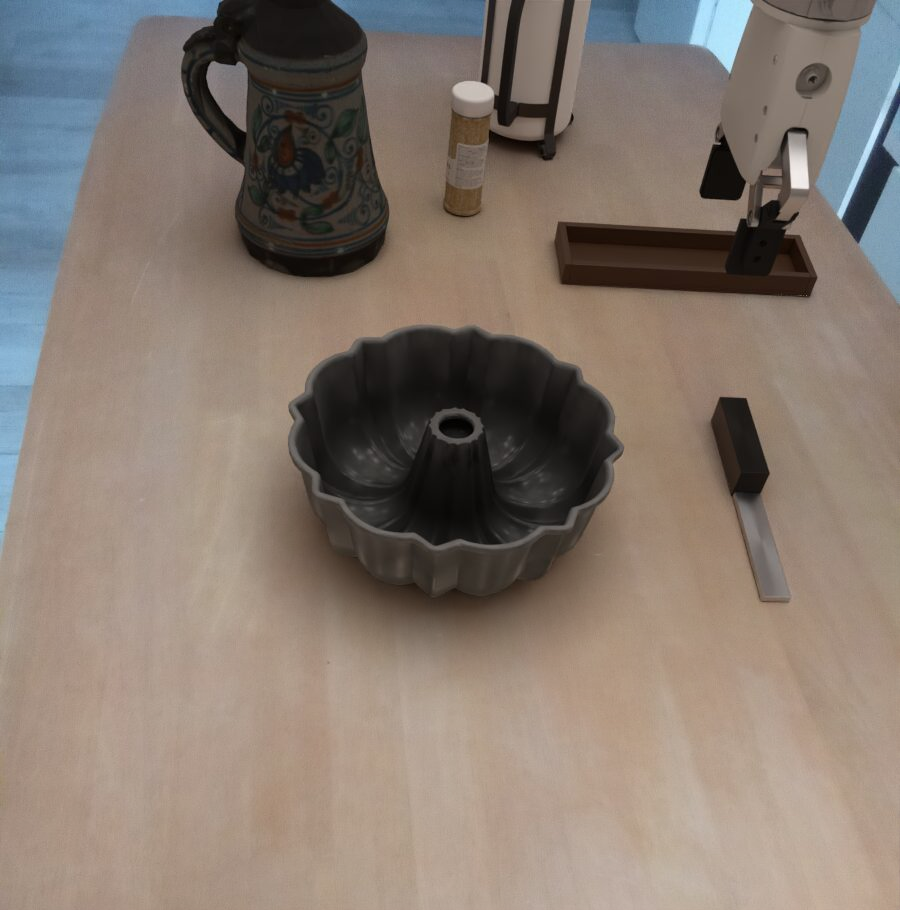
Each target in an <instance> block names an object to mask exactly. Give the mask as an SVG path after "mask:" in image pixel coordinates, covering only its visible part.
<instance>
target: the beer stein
mask: <svg viewBox="0 0 900 910" xmlns="http://www.w3.org/2000/svg"><path fill="white" fill-rule="evenodd" d="M367 38H368V37H367V34H366V33H365V31H364V30H363V28H362V26H361V25H360V23H358V22H357V20H356V19H355V18H354V17H352V16H351V15H350V14H349V13H347V12H346V11H345V10H343V9H342V8H341V7H339V5H337V4H335V2H333V1H332V0H221V1H220V2H218V5H217V9H216V17H215V18H214V20H213V22H212V25H208V26H203V27H202V28H200V29H198V30H196V31H194V33H192V34H191V35H190V37H189V38H188V39H187V40H185V42H184V44H183V46H182V51H183V52H184V54H183V56H182V60H181V65H180V79H181V84H182V90H183V93H184V96H185V99H186V102H187V103H188V105H189V108H190V110H191V112H192V113H193V115H194V118H196V120H197V121H198V123H199V124H200V125H201V127H202V128H203V129H204V130H205V132H206V133H207V134H208V136H210V137H211V139H212V140H213V141H214V142H215V143H216V144H217V145H218V146H219V147H220V148H221V149H222V150H223V151H224V152H225V153H226V154H227V155H229V157H230V158H232V159H234V160H235V161H236V162H238V163H239V164H241V165H242V167H243V168H244V169H243V177H242V180H241V184H240V189H239V191H238V193H237V196H236V199H235V204H234V218H235V221H236V225H237V228H238V230H239V233H240V235H241V240H242V242H243V244H244V246H245V248H246V250H247V252H248V254H249V255H250V256H251V257H252V258H254V259H255V260H256V261H258V262H259V263H261V264H262V265H264V266H265V267H266V268H267V269H271V270H273V271H277V272H280V273H282V274H286V275H291V276H297V277H303V278H304V277H306V278H307V277H309V278H311V277H314V278H315V277H335V276H339V275H344V274H348V273H352V272H353V273H354V272H355V271H356V270H358V269H361V268H362V267H363V266H365V265H367V264H369V263H371V262H373V261H374V260H375V258H376V257H377V256H378V255H379V252H380V251H381V250H382V248H383V246H384V245H385V241H386V233H387V228H388V224H389V220H390V205H389V200H388V198H387V195H386V192H385V191H384V189H383V186H382V184H381V181H380V177H379V173H378V169H377V165H376V159H375V155H374V151H373V143H372V137H371V132H370V124H369V117H368V108H367V107H368V106H367V101H366V95H365V88H364V81H363V68H364V66H365V63H366V60H367V54H368V49H369V48H368V46H369V45H368V39H367ZM213 62H215V63H217V64H219V65H227V66H233V67H236V66H237V64H238V63H241V64H243V65H244V66H245V68H246V71H247V91H246V107H245V108H246V109H245V110H246V111H245V127H246V128H245V130H246V131H244V130H242V129H241V128H239V127H238V126H237V125H236V124H235V122H234V121H232V119H231V118H229V116H227V115H226V113H225V112H224V111H223V110H222V108H221V107H220V105H219V103H218V102H217V101H216V99H215V97H214V96H213V94H212V92H211V90H210V88H209V82H208V79H207V76H208V71H209V67H210V65H211V64H212V63H213Z"/></svg>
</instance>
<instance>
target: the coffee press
mask: <svg viewBox="0 0 900 910" xmlns="http://www.w3.org/2000/svg"><path fill="white" fill-rule="evenodd" d="M591 4H592V0H485V6H484V14H483V15H484V16H483V28H482V37H481V46H480V47H481V48H480V58H479V67H478V79H477V82H481V83H484V84H486V85H488V86H489V87H491V88H492V89H493V91H494V106H493V111H492V114H491V116H490V126H489V133H490V132H494V133H495V134H497V135H500V136H502V137H505V138H509V139H512V140H517V141H528V142H529V141H530V142H533V141H534V142H535V143H536V144H537V146H538V150H539V154H540V157H541V158H542V159H543V160H546V159H551V158H556V156H557V147H556V142H555V137H556V136H558V135H559V134H561V133H562V132H563V131H564V130H565V129H566V128H567V127H568V126H570V125H571V124H572V123H573V122H574V120H575V119H574V118H575V116H574V114H573V109H574V108H573V107H574V103H575V96H576V91H577V85H578V79H579V74H580V68H581V62H582V56H583V51H584V45H585V39H586V33H587V28H588V21H589V17H590V9H591Z"/></svg>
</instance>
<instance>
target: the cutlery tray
mask: <svg viewBox="0 0 900 910" xmlns="http://www.w3.org/2000/svg"><path fill="white" fill-rule="evenodd" d="M735 233H736V230H735V231H734V230H719V229H699V228H698V229H697V228H682V227H665V226H664V227H663V226H648V225H632V224H631V225H629V224H613V223H612V224H611V223H596V222H579V221H577V222H575V221H559V220H558V221H557V224H556V230H555V236H554V246H555V254H556V258H557V265H558V272H559V277H560V284H561V285H573V286H574V285H576V286H577V285H578V286H593V287H594V286H595V287H613V288H614V287H616V288H617V287H618V288H632V289H633V288H635V289H651V290H653V289H654V290H671V291H690V292H691V291H693V292H712V293H727V294H728V293H729V294H730V293H731V294H750V295H751V294H752V295H767V294H776V295H775V296H786V295H792V296H791V297H794V296H793V295H802V296H801V297H805V296H806V295H807V296H810V297H811V294H812V293H813V290H814V287H815V285H816V283H817V280H818V278H819V277H818V274H817V272H816V270H815V267H814V265H813V262H812V260H811V258H810V256H809V253H808V251H807V248H806V246H805V244H804V241H803V238H802V237H801V234H791V233H789V234H788V233H785V235H784V238H783V241H782V243H781V246H780V248H779V251H778V254H777V256H776V259H775V262H774V264H773V267H772V270H771V272H770V274H769V275H767V276H748V275H730V274H727V273H726V270H725V263H726V260H727V257H728V254H729V251H730V248H731V245H732V242H733V239H734V236H735ZM778 294H779V295H778ZM781 294H782V295H781ZM803 295H804V296H803Z"/></svg>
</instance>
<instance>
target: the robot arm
mask: <svg viewBox="0 0 900 910" xmlns="http://www.w3.org/2000/svg"><path fill="white" fill-rule="evenodd" d="M749 1H750V2H751V4H753V5H752V6H751V10H750V12H749V16H748V18H747V21H746V23H745V26H744V30H743V32H742V35H741V38H740V41H739V44H738V47H737V50H736V53H735V56H734V59H733V62H732V65H731V69H730V71H729V76H728V79H727V82H726V86H725V91H724V94H723V99H722V102H721V108H720V122H719V123H718V124H717V126H716V128H715V132H714V142H715V143H716V144H715V143H713V144H712V145H711V149H710V153H709V156H708V159H707V163H706V166H705V170H704V173H703V176H702V180H701V183H700V187H699V190H698V193H699V195H700V198H702V199H703V200H719V201H734V202H735V201H739V200H740V199H741V198H742V196H743V193H744V190H745V187H746V184H748V185H749V189H748V199H747V211H746V218H745V217H743V218H740V219H739V221H738V224H737V227H736V230H735V231H736V233H735V236H734V239H733V242H732V245H731V248H730V251H729V254H728V257H727V260H726V263H725V270H726V273H727V274H730V275H748V276H767V275H769V274H770V272H771V270H772V267H773V264H774V262H775V259H776V256H777V254H778V251H779V248H780V246H781V243H782V241H783V238H784V235H785V234H787V233H786V232H787V230H790V229H791V227H792V225H793V222H794V221H796V219H797V217H799V215H800V210H801V208H802V207H803V206H804V204H805V203H806V202H807V200H808V198H809V195H810V191H811V190H810V189H811V188H812V187H814V186H815V185H816V183H817V181H818V180H819V177H820V174H821V171H822V169H823V166H824V163H825V160H826V158H827V154H828V152H829V150H830V146H831V143H832V140H833V137H834V134H835V132H836V128H837V125H838V122H839V119H840V116H841V114H842V109H843V107H844V105H845V101H846V97H847V94H848V90H849V88H850V83H851V80H852V77H853V72H854V69H855V64H856V60H857V55H858V50H859V46H860V42H861V37H862V29H861V27H863V26H865V25H866V24H867V23H868V22H869V21H870V20H871V16H872V14H873V11H874V8H875V5H876V3H877V1H878V0H749ZM768 169H770V170H781V175H769V174H764V172H766V171H767V170H768ZM764 189H771V190H780V191H779V192H778V193H777V199H771V200H769V201H767V202H765V204H763V196H764Z"/></svg>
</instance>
